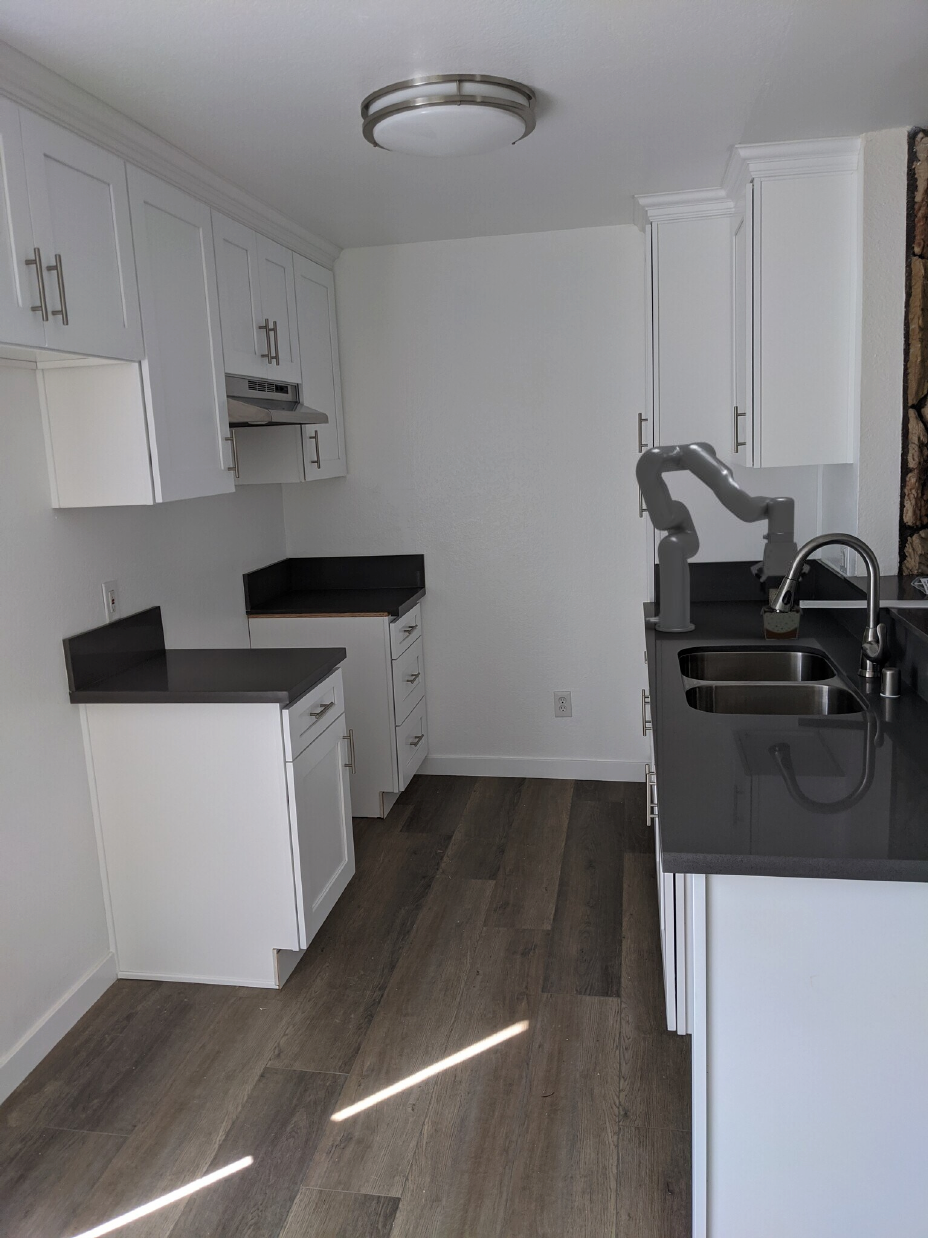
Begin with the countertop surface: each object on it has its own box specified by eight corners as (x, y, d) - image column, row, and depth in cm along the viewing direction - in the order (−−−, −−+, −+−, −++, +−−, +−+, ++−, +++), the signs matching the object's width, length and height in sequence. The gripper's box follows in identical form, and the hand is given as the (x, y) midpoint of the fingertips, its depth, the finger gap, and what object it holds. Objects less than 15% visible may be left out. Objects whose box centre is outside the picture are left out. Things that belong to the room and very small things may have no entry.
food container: (796, 635, 291) (797, 603, 289) (801, 639, 285) (802, 607, 283) (756, 636, 293) (756, 604, 291) (760, 640, 287) (761, 608, 285)
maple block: (772, 607, 285) (772, 591, 284) (769, 604, 290) (769, 589, 289) (789, 607, 284) (789, 591, 283) (785, 604, 289) (786, 588, 288)
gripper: (753, 540, 281) (752, 596, 284) (813, 538, 278) (811, 595, 282) (749, 537, 288) (748, 592, 291) (807, 535, 286) (806, 591, 289)
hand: (779, 593), depth 286 cm, fingers open, 9 cm apart
